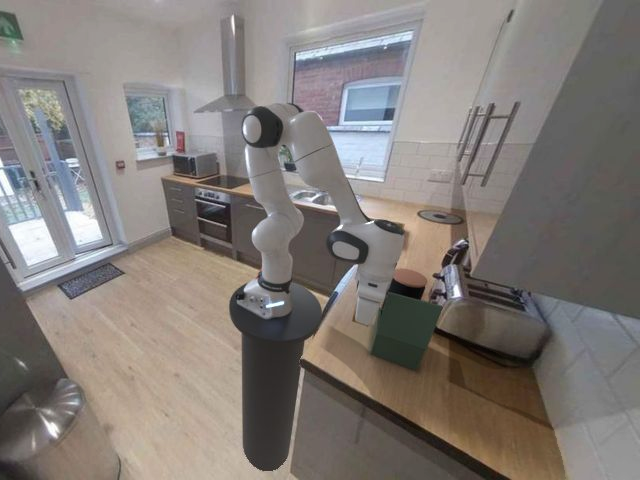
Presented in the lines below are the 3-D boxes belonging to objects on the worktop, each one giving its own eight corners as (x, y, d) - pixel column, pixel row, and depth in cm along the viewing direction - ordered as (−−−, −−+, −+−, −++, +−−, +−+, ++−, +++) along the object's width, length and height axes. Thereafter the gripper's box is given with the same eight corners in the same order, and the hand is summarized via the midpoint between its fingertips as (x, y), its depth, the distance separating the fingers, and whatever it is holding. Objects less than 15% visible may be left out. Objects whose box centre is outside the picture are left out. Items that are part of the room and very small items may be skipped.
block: (351, 321, 76) (355, 309, 74) (353, 312, 80) (356, 300, 78) (368, 326, 74) (371, 315, 72) (369, 317, 78) (373, 305, 76)
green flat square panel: (388, 291, 72) (388, 293, 72) (442, 305, 67) (443, 307, 66) (376, 332, 78) (376, 333, 77) (425, 348, 72) (426, 350, 71)
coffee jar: (395, 303, 103) (408, 266, 95) (419, 322, 94) (435, 282, 86) (374, 309, 100) (385, 271, 92) (396, 328, 91) (411, 288, 83)
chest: (373, 326, 92) (378, 307, 88) (413, 339, 86) (421, 319, 83) (370, 354, 81) (376, 333, 77) (416, 371, 76) (425, 350, 72)
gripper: (364, 257, 79) (354, 292, 86) (356, 293, 63) (345, 333, 70) (387, 262, 77) (375, 298, 83) (384, 302, 61) (370, 343, 67)
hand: (361, 315), depth 76 cm, fingers closed on block, 4 cm apart
